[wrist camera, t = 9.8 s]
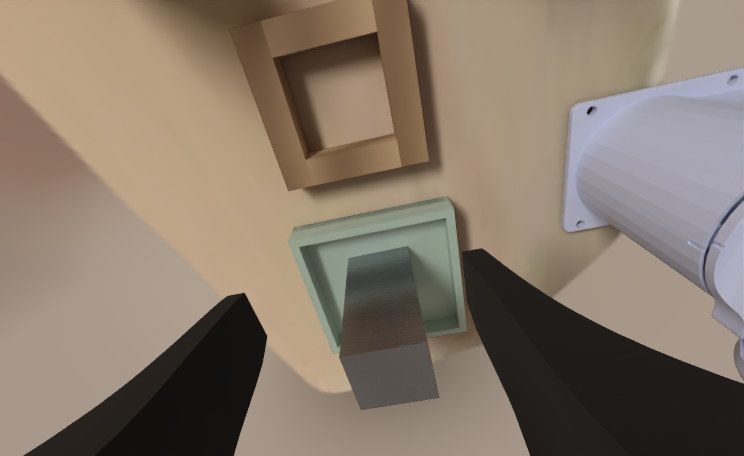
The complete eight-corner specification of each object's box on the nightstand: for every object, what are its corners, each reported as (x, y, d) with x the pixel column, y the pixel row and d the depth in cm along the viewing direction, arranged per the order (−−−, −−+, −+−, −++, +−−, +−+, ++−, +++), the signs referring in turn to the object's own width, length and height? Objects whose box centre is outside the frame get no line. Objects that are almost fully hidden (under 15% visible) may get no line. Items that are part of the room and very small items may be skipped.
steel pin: (407, 245, 21) (427, 341, 14) (417, 292, 23) (439, 397, 16) (348, 258, 22) (339, 357, 15) (362, 302, 24) (360, 409, 16)
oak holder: (401, -12, 15) (404, -18, 14) (424, 153, 19) (429, 161, 18) (240, 30, 16) (228, 29, 15) (293, 181, 20) (288, 191, 18)
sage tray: (447, 196, 20) (453, 208, 19) (460, 313, 25) (467, 331, 23) (294, 227, 21) (288, 241, 20) (335, 335, 26) (333, 353, 24)
